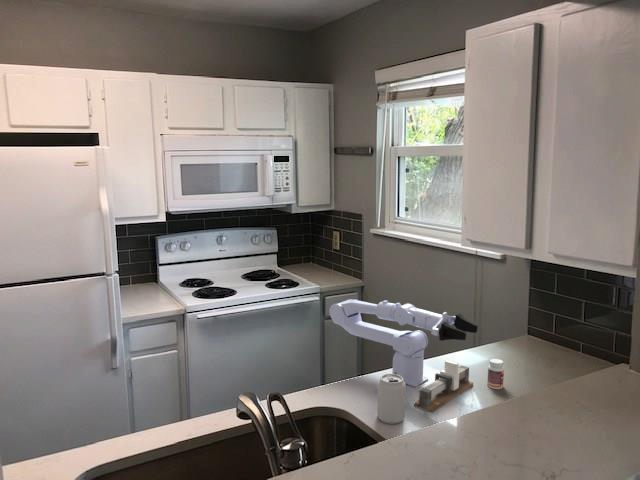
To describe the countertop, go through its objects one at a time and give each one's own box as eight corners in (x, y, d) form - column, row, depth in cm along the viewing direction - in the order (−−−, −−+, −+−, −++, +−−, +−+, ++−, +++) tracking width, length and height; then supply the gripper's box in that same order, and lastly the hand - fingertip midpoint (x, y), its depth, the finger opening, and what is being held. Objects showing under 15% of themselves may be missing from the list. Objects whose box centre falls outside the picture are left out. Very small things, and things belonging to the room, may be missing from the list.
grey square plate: (434, 389, 161) (435, 374, 160) (436, 388, 162) (436, 373, 161) (448, 393, 158) (449, 378, 157) (450, 392, 158) (451, 377, 158)
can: (386, 427, 141) (387, 385, 139) (372, 415, 148) (373, 374, 146) (409, 422, 144) (411, 380, 142) (395, 410, 151) (396, 370, 149)
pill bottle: (504, 390, 165) (505, 364, 163) (488, 388, 166) (489, 363, 164) (502, 383, 169) (503, 358, 168) (486, 382, 170) (487, 357, 169)
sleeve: (439, 386, 163) (440, 362, 162) (444, 383, 165) (445, 359, 164) (453, 390, 160) (454, 366, 159) (458, 387, 162) (459, 363, 161)
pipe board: (414, 405, 154) (414, 388, 153) (455, 379, 172) (456, 364, 171) (432, 412, 150) (432, 394, 149) (473, 385, 168) (473, 368, 167)
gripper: (419, 314, 159) (461, 326, 150) (442, 303, 169) (482, 313, 161) (417, 337, 160) (459, 349, 151) (440, 324, 171) (480, 335, 162)
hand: (471, 332), depth 156 cm, fingers open, 7 cm apart
